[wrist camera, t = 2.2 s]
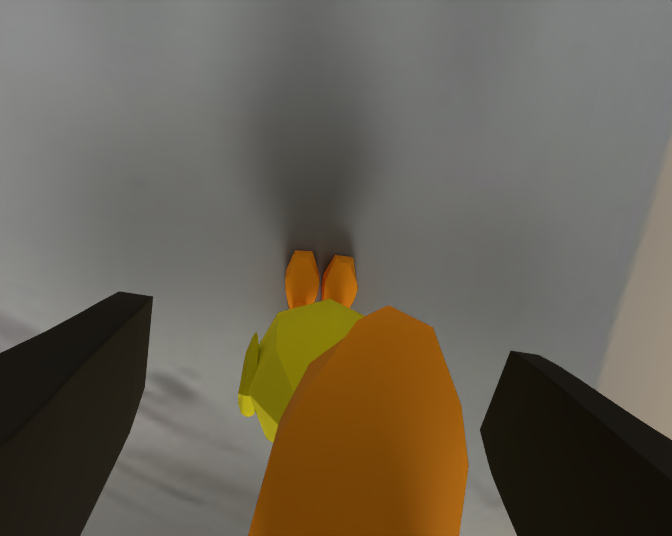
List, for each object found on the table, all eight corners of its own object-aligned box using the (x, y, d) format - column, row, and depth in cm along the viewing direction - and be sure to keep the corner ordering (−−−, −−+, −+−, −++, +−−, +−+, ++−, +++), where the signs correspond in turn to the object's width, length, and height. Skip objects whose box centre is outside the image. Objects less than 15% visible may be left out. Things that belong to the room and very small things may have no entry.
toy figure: (266, 146, 13) (123, 720, 2) (409, 164, 14) (890, 718, 3) (245, 379, 16) (133, 1174, 5) (366, 388, 16) (520, 1138, 5)
